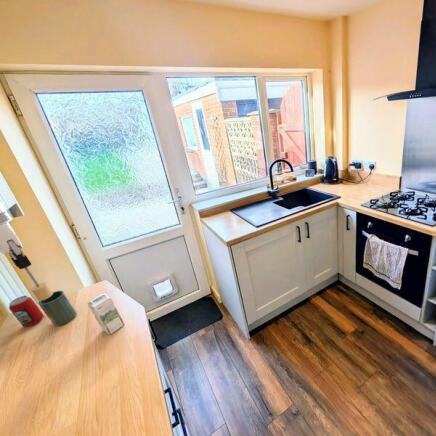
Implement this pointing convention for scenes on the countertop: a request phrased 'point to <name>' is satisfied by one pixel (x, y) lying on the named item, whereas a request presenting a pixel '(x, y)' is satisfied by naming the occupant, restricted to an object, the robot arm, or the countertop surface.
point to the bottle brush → (39, 288)
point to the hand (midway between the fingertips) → (24, 265)
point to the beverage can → (26, 311)
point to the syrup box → (106, 313)
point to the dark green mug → (58, 308)
